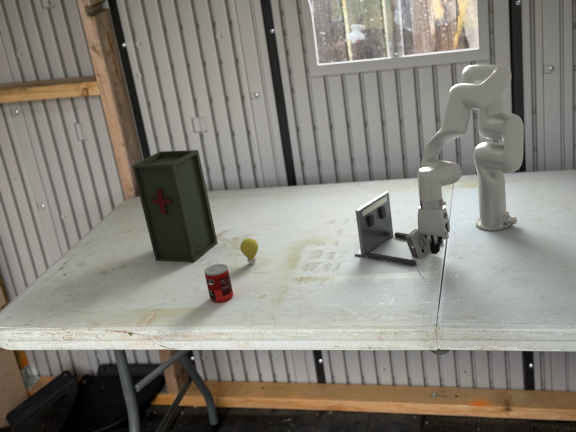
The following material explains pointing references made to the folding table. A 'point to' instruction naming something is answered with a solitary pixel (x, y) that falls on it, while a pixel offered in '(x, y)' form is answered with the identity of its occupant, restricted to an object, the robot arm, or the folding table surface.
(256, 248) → the light bulb
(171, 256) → the first aid box
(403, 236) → the cable far
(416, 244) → the electrical switch
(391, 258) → the cable near
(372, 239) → the panel
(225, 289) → the canned food
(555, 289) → the folding table surface
